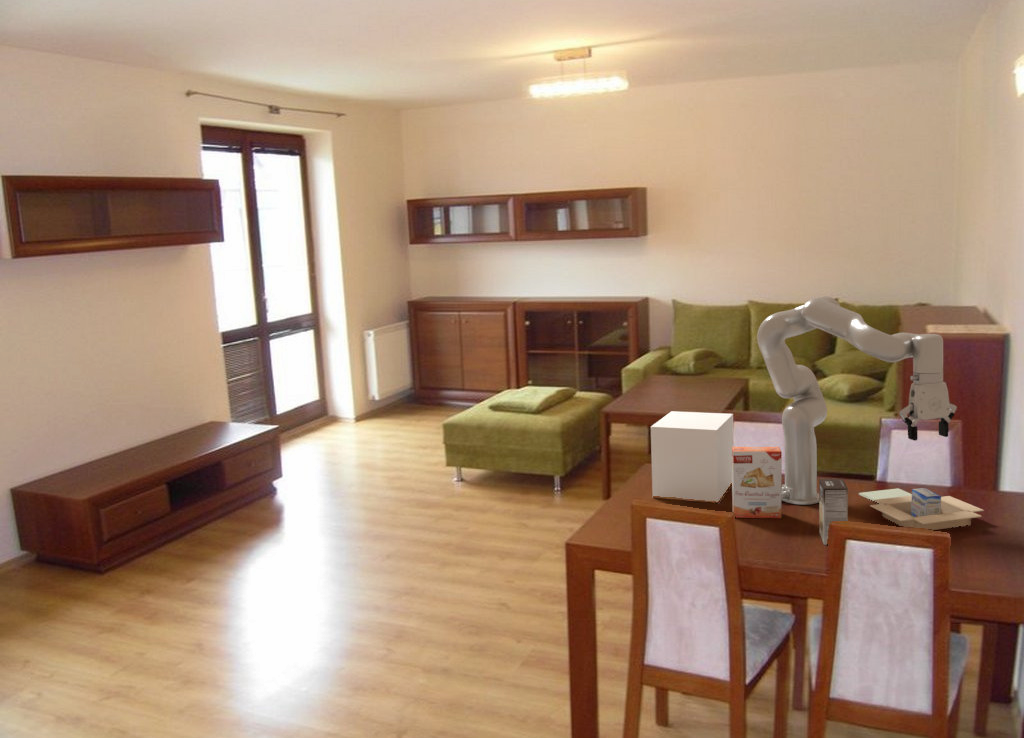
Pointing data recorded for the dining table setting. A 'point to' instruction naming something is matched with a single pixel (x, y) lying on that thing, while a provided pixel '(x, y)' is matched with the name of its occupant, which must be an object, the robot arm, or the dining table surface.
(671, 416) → the cube
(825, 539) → the coffee box
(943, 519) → the carton
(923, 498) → the medicine box
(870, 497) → the sage board
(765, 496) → the cracker box
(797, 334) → the robot arm
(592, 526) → the dining table surface
